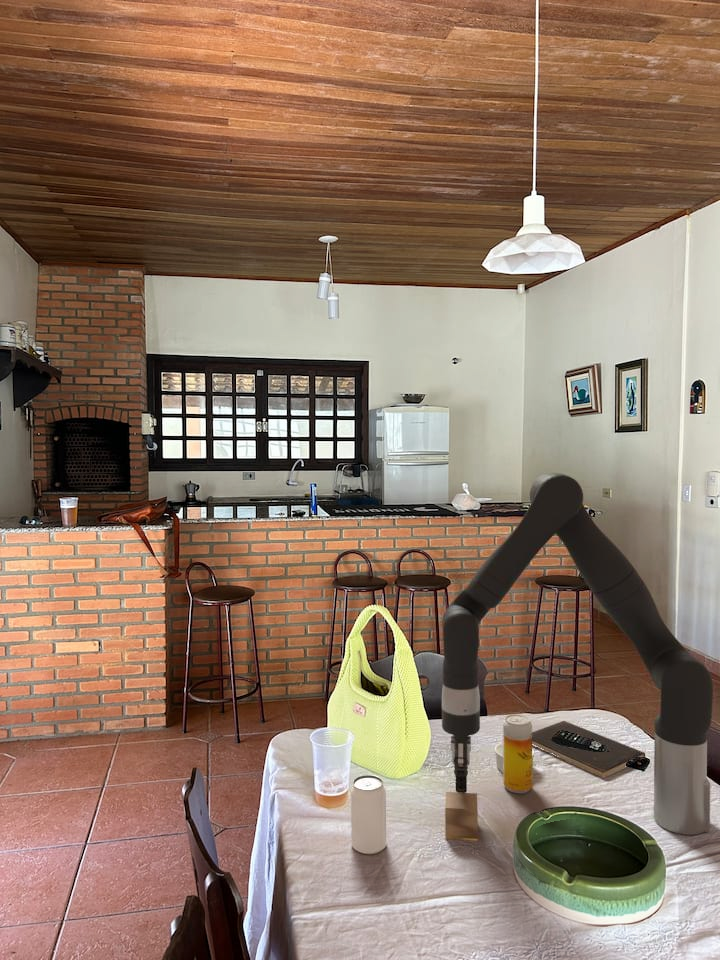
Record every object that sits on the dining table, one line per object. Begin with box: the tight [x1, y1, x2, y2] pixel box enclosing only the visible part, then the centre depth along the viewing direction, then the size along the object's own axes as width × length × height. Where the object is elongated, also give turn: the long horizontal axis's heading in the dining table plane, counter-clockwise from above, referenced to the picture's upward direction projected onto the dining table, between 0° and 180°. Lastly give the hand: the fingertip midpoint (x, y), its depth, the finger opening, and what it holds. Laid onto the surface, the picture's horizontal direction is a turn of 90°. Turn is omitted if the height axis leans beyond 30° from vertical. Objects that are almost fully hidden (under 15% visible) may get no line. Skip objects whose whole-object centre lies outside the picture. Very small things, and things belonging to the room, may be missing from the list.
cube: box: [444, 791, 479, 842], centre depth 131 cm, size 6×6×6 cm
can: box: [350, 774, 387, 856], centre depth 126 cm, size 6×6×12 cm
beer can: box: [502, 714, 533, 794], centre depth 147 cm, size 6×6×15 cm
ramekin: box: [494, 742, 535, 773], centre depth 156 cm, size 9×9×4 cm
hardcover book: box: [532, 720, 646, 779], centre depth 164 cm, size 16×23×2 cm
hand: (461, 790), depth 137 cm, fingers closed
